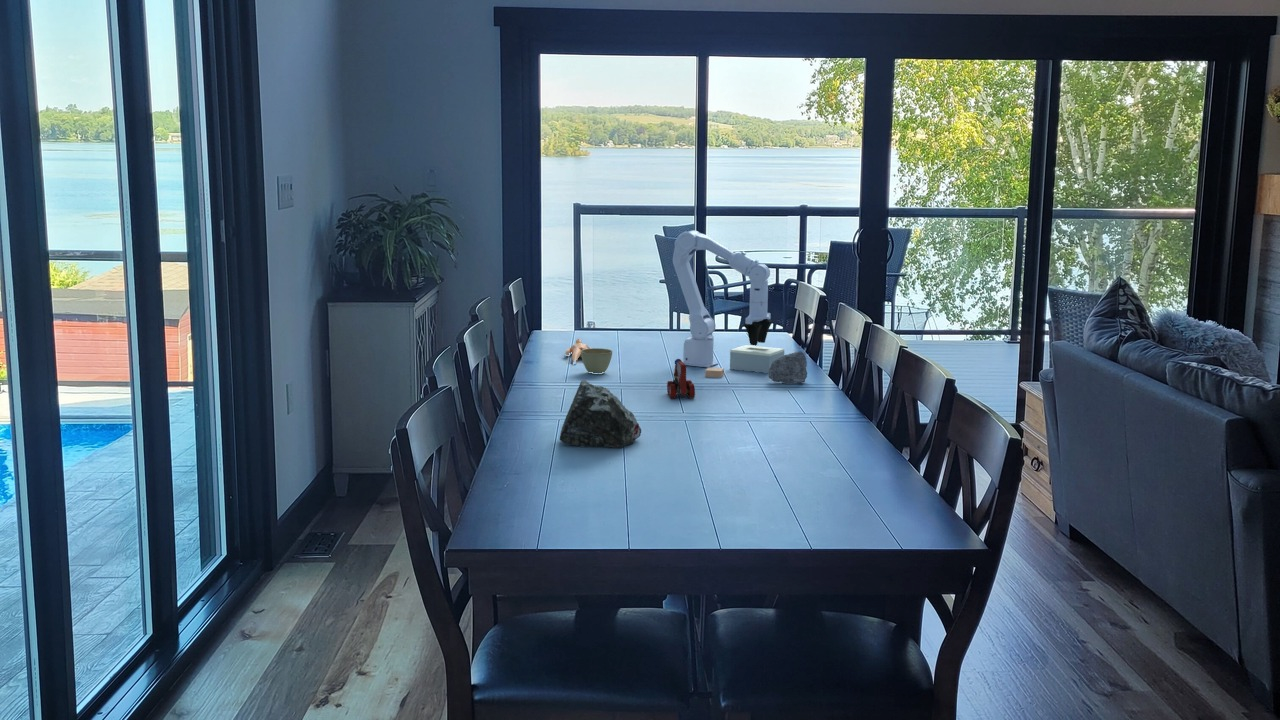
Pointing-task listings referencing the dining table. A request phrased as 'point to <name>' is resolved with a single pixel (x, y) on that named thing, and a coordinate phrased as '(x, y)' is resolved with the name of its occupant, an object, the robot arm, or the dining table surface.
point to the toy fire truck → (680, 382)
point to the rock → (789, 368)
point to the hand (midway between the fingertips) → (757, 343)
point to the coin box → (754, 358)
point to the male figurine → (576, 349)
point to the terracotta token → (714, 372)
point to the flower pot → (596, 359)
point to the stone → (598, 419)
